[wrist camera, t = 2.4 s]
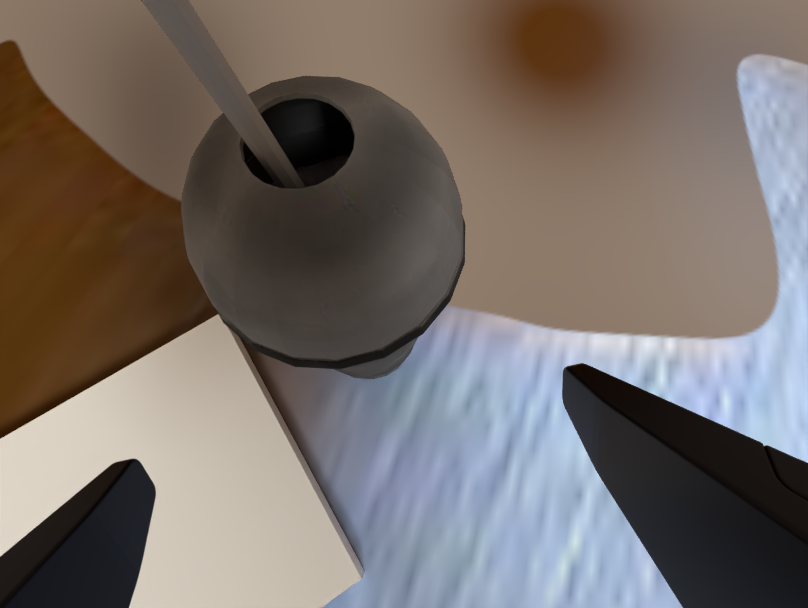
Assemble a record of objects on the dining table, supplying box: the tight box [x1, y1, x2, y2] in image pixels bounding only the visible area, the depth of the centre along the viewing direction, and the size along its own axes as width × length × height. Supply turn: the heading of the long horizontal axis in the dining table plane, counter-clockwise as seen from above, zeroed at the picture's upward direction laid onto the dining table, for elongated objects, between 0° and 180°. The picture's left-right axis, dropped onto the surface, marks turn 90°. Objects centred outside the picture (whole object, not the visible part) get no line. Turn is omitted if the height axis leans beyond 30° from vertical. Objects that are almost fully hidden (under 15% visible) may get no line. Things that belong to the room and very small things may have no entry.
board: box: [0, 314, 364, 608], centre depth 19 cm, size 14×14×1 cm
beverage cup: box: [142, 0, 465, 379], centre depth 13 cm, size 7×7×20 cm
